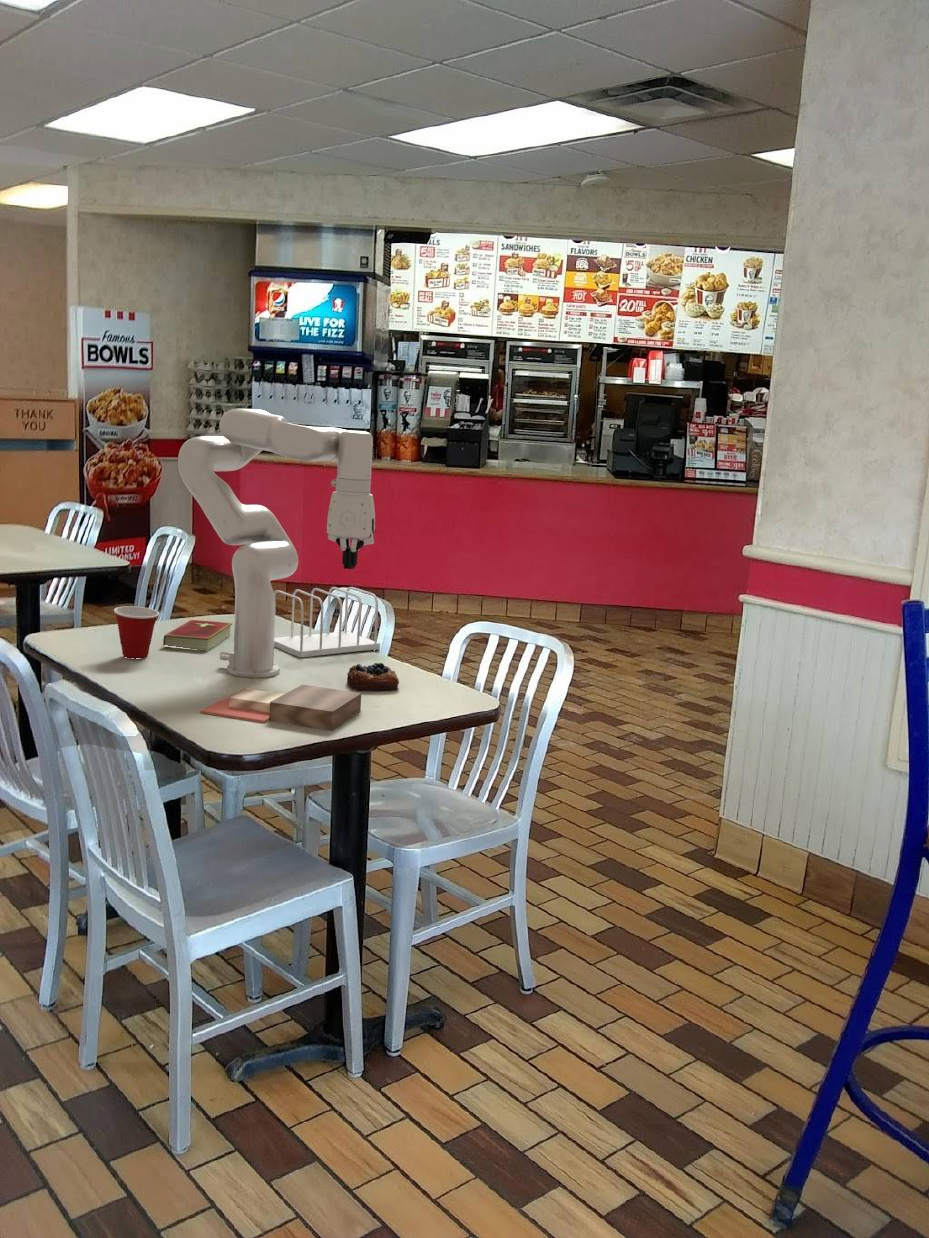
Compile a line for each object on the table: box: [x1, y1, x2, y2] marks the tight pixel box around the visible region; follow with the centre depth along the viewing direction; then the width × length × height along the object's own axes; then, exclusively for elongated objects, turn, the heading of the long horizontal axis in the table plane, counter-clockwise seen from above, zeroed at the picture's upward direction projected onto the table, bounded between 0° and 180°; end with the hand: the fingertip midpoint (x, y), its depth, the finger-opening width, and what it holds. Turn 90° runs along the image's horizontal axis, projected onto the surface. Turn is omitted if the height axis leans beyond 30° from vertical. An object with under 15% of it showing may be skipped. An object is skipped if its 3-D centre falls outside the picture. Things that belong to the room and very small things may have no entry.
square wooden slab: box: [268, 684, 362, 731], centre depth 227 cm, size 14×16×4 cm
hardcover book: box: [162, 619, 233, 652], centre depth 287 cm, size 12×21×4 cm, turn 175°
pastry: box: [346, 662, 400, 692], centre depth 254 cm, size 11×12×6 cm
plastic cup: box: [113, 605, 160, 659], centre depth 264 cm, size 11×11×12 cm
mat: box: [199, 688, 269, 723], centre depth 231 cm, size 15×20×1 cm
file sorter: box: [273, 586, 381, 658], centre depth 289 cm, size 25×17×16 cm
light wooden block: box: [229, 688, 285, 712], centre depth 230 cm, size 11×8×2 cm
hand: (349, 568), depth 241 cm, fingers closed
